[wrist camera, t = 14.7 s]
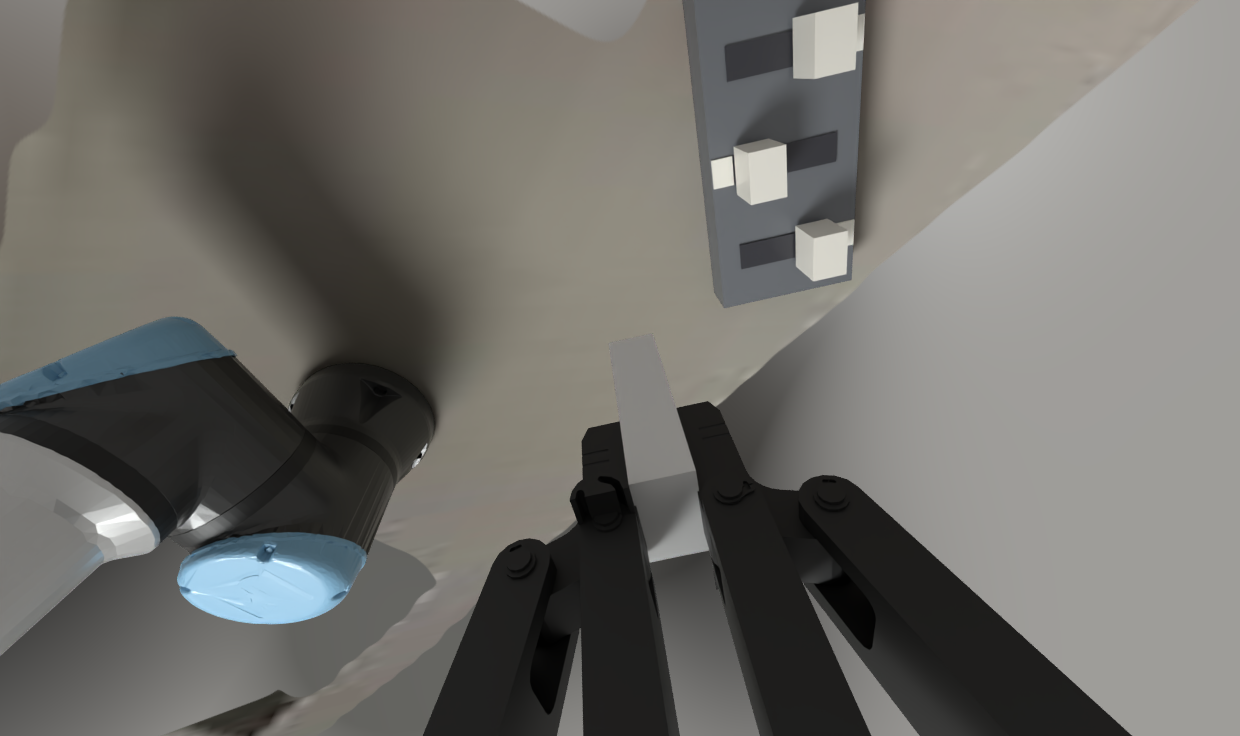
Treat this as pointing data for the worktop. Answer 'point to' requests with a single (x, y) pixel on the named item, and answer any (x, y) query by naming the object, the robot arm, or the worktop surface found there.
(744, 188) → the tab
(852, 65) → the tab
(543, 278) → the worktop surface
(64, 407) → the robot arm
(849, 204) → the switch bank
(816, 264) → the tab
